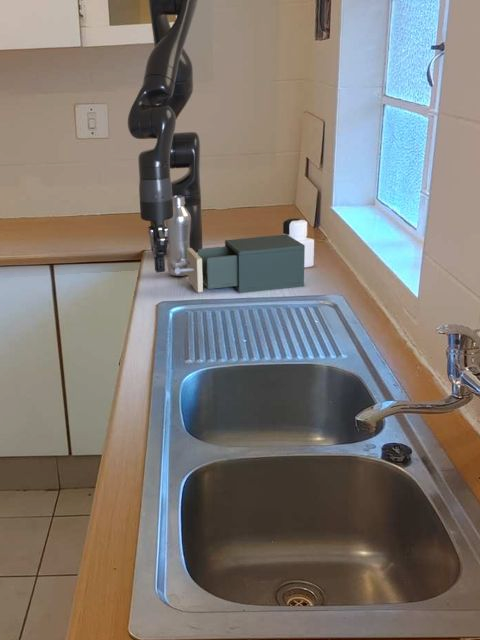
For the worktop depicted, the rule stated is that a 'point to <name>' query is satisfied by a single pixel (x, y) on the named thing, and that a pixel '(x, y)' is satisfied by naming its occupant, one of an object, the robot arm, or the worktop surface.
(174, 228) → the silver metal bottle
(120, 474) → the worktop surface
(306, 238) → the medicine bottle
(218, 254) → the drawer
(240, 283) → the cabinet
